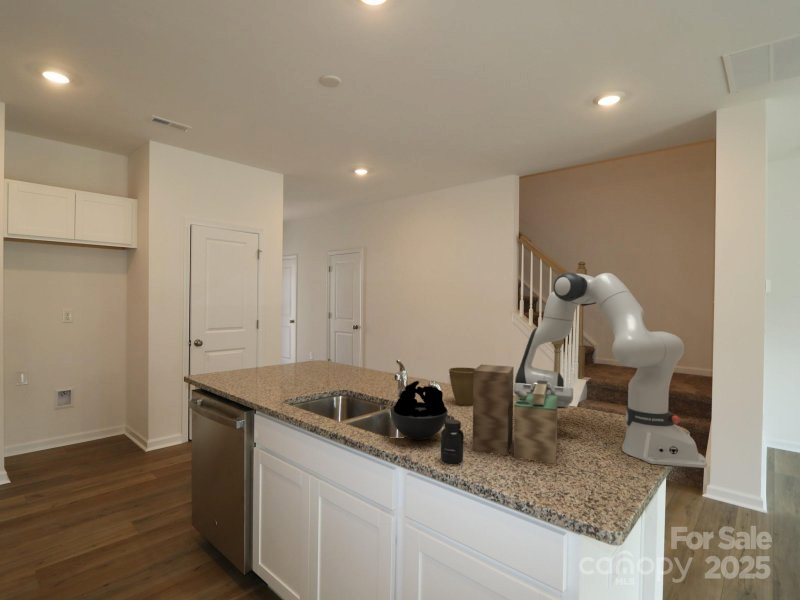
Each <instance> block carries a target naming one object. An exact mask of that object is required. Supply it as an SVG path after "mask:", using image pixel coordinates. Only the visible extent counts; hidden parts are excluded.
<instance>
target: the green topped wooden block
mask: <svg viewBox="0 0 800 600" xmlns="http://www.w3.org/2000/svg"><path fill="white" fill-rule="evenodd" d="M518 396H519V397H517V399H516V401H515V403H514V406H513V458H514V457H516V458H515V459H518V458H523V459H522V460H524V459H530V460H529V461H531V460H536V461H535V462H538V461H543V462H542V463H544V462H549V463H548V464H551V463H554V464H553V465H556V463H557V461H556V459H557V446H558V409H557V396H551V395H546V398H545V402H544V405H538V404H533V394H529V393H526V392H525V391H521V392H519V394H518Z"/></svg>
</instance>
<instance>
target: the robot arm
mask: <svg viewBox="0 0 800 600" xmlns="http://www.w3.org/2000/svg"><path fill="white" fill-rule="evenodd" d="M552 286H553V287H552V288H553V291H552V292H550V294H549V295H548V297H547V300H546V303H545V306H544V311H543V317H542V320H541V323H540V324H539V326H537V327H535V328H534V329H533V330H532V331H531V334H530V336H529V338H528V341H527V344H526V347H525V350H524V354H523V356H522V359H521V362H520V365H519V367H518V369H517V371H516V373H515V376H514V380H515V381H514V382H515V383H513V394H514V395H515V397H517V398H518V397H519V396H518V394H519V392H521V391H525V392H526V393H529V394H533V392H534V389H535V387H536V384H537V381H538V380H541V381H547V394H546V395H551V396H557V410H559V409H569V407H570V405H571V404H572V402H573V400H574V388H572V387H570V386H569V387H568V386H564V383H565V382H564V377H563V376H562V374H561V373H560V372H558V371H553V370H548V369H541V368H536V367H533V366H532V364H533V361H534V358H535V355H536V353H537V350H538V348H539V346H542V345H543V344H547V343H552V342H558V341H561V340H564V339H565V338H567V337H568V336H569V335H570V334H571V330H572V327H573V322H574V317H575V316H574V314H575V310H576V308H577V307H578V306H581V307H585V306H586V307H587V306H591V305H595V304H596V305H597V306H598V308H599V309H600V311H601V312H602V314H603V316H604V317H605V319H606V321H607V322H608V324H609V325H610V328H611V330H612V331H613V332H612V333H613V337H614V341H613V344H612V355H613V357H614V359H615V360H616V361H617V362H618V363H619V364H621V365H623V366H626V367H627V366H628V367H631V368H636V372H635V374H634V375H633V377H632V378H631V379H630V381H629V382H628V388H627V389H628V390H627V392H628V393H627V394H628V395H627V398H628V399H627V402H628V403H627V404H628V405H627V406H626V411H625V423H626V431H625V436H624V440H623V444H622V447H621V451H623V452H624V453H625V454H627V455H629V456H631V457H633V458H637V459H639V460H642V461H644V462H646V463H648V464H653V465H666V466H676V467H687V468H700V469H701V468H702V469H704V468H706V467H707V466H708V461H707V459H706V457H705V456H704V455H703V454H701V453H699V451H698V448H697V443H696V442H695V440H694V439H693V438H692V436H691V435H689V434H688V433H687V432H685V430H683V429H682V428H681V427H680V426H678V425H677V424H679V423H681V419H680V417H679V416H677V415H675V414H674V413H672V412H671V411H669V397H670V395H669V394H670V393H669V392H670V385H671V380H672V378H673V374H674V371H675V369H676V367H677V364H678V363H679V361H680V359H682V357H683V356H684V354H685V345H684V342H683V340H682V339H681V338H680V337H679V336H677V335H676V334H674V333H670V332H667V331H658V330H657V331H650V330H648V329H647V327H646V325H645V323H644V320H643V318H644V315H645V310H644V309H643V307H642V306H641V305H640V304H639V302H638V301H637V299H636V298H635V296H634V295H633V294H632V292H631V291H630V289H629V288H628V287H627V286H626V285H625V284H624V282H623V281H621V280H620V279H619V278H618V277H617V276H616V275H615V274H613V273H611V272H604V273H600V274H598V275H597V276H591V275H587V274H584V273H574V272H566V273H561V274H560V275H557V277H556V278H555V280H554V282H553V285H552Z"/></svg>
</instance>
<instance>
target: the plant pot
mask: <svg viewBox="0 0 800 600" xmlns="http://www.w3.org/2000/svg"><path fill="white" fill-rule="evenodd" d="M475 369H476V368H474V367H459V366H458V367H451V368H449V369H448V373H449V380H450V385H451V390H452V393H453V394H452V395H453V397H454V400H455V402H456V405H458V406H462V407H463V406H464V407H469V406H473V370H475Z"/></svg>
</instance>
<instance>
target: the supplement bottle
mask: <svg viewBox="0 0 800 600" xmlns="http://www.w3.org/2000/svg"><path fill="white" fill-rule="evenodd" d="M443 427H444V428H442V429H441V430H442V431H441V433H440V460H441V462H442V463H443V462H444V463H443V464H445V463H446V465H449V464H458V465H460V464H459V463H461V462H462V463H463V461H464V446H465V445H464V441H465V440H464V439H465V436H464V434H465V433H464V432H463V431H462V429H461V428H462V427H461V420H458V419H450V418H449V419H446V420H445V424H444V426H443ZM462 463H461V464H462Z"/></svg>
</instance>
